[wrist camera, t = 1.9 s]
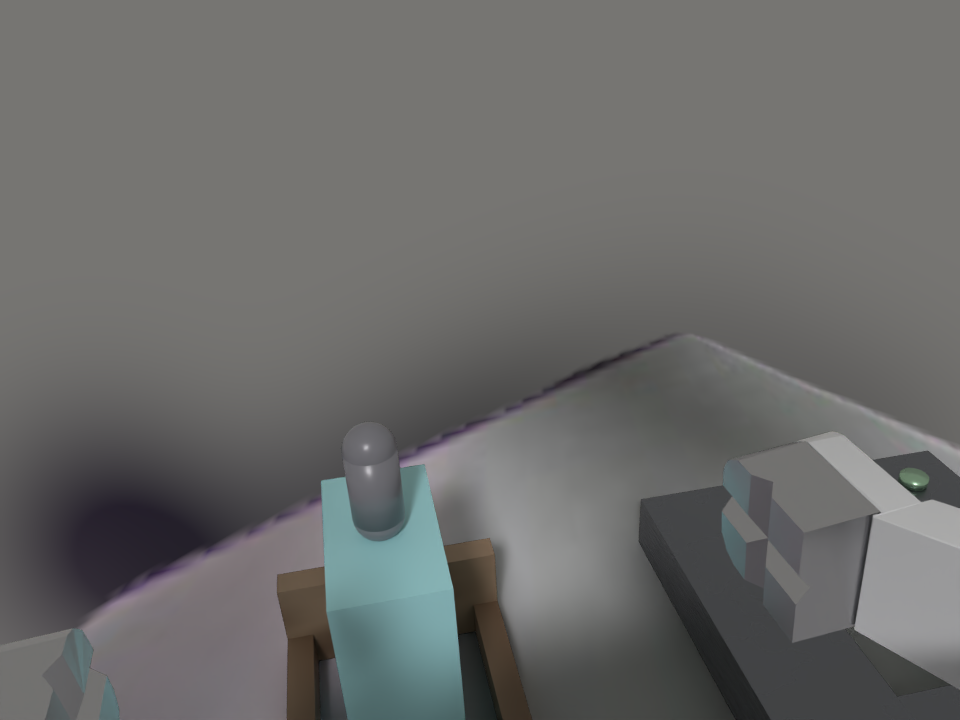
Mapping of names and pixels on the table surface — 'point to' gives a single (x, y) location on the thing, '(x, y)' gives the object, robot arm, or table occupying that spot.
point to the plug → (388, 586)
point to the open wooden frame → (473, 613)
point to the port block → (753, 631)
